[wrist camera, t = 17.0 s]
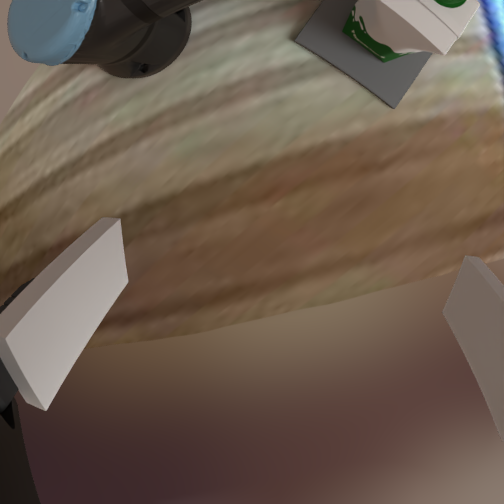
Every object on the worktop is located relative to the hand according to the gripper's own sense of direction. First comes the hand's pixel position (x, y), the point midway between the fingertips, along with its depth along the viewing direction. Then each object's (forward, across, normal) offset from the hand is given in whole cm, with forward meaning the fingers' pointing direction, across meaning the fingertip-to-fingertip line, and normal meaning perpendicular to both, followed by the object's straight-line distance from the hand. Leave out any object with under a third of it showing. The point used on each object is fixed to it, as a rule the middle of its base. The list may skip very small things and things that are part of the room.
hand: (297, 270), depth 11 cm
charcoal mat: (+35, +11, +17) cm, 40 cm away
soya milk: (+34, +11, +17) cm, 40 cm away
